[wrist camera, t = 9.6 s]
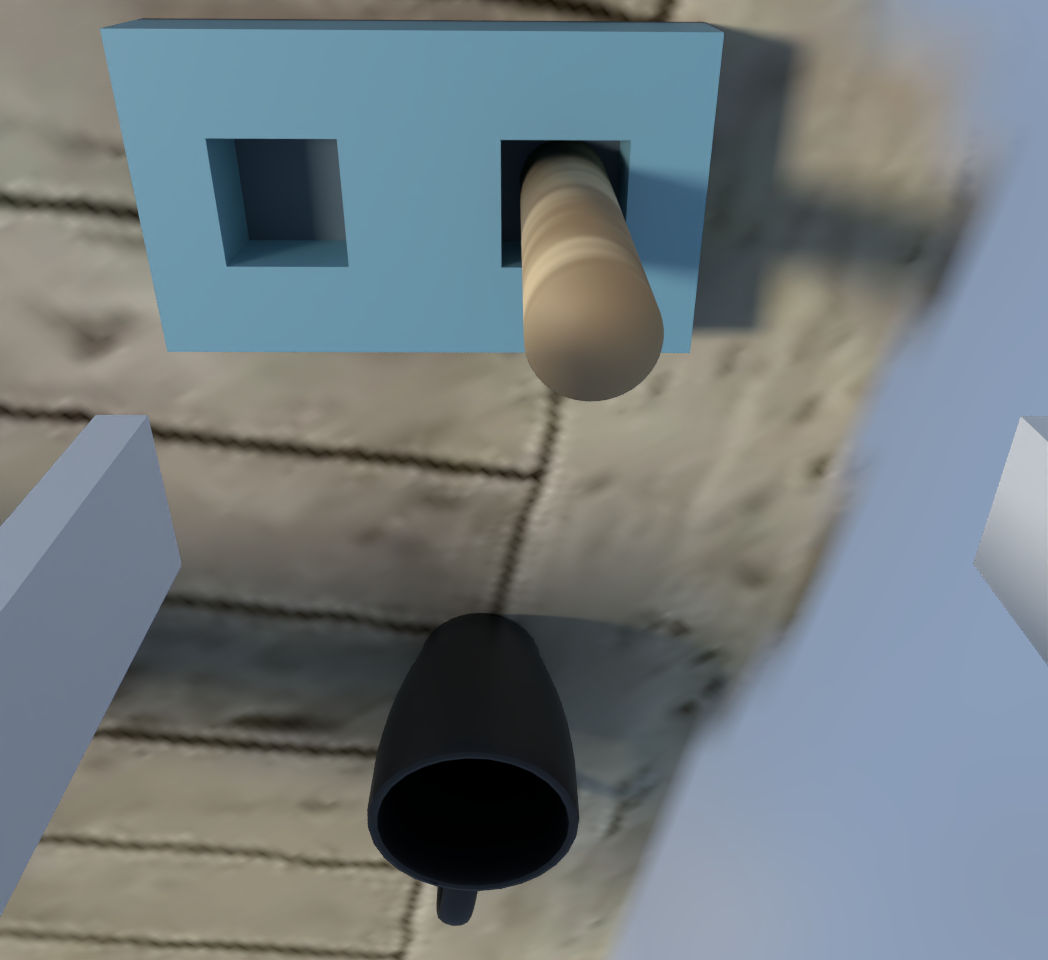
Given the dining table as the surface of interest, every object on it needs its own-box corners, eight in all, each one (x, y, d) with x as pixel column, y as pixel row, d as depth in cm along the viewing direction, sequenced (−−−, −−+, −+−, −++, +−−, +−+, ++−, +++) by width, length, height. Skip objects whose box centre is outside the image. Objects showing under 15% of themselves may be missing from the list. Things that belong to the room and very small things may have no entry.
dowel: (518, 226, 32) (522, 400, 20) (520, 137, 31) (525, 268, 19) (603, 227, 32) (657, 402, 20) (609, 138, 31) (670, 270, 19)
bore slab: (197, 314, 34) (167, 351, 31) (142, 18, 29) (99, 28, 26) (674, 316, 35) (689, 352, 32) (702, 21, 29) (724, 32, 26)
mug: (376, 761, 47) (347, 936, 39) (405, 577, 41) (378, 738, 33) (533, 780, 48) (537, 955, 40) (584, 603, 42) (601, 767, 34)
